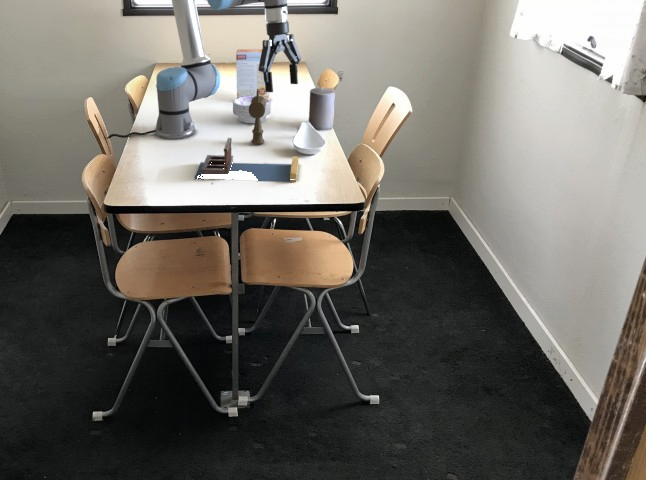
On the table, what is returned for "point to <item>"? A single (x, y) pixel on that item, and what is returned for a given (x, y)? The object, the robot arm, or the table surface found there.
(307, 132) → the spoon rest
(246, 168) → the runner mat
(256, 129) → the kendama
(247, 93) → the cracker box
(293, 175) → the rail
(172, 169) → the table surface
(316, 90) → the pillar candle
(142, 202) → the table surface
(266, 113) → the paper bowls
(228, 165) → the rack
